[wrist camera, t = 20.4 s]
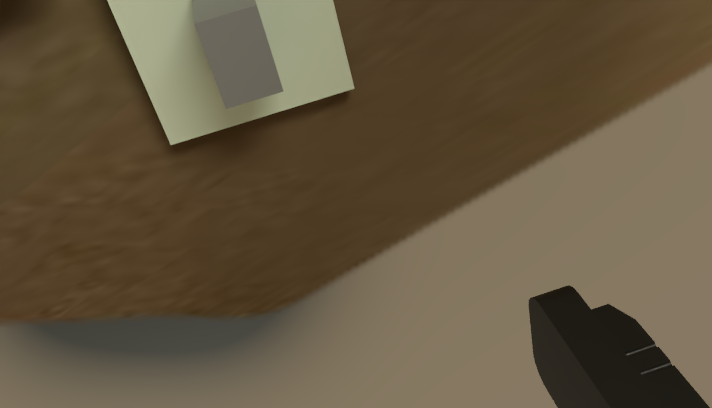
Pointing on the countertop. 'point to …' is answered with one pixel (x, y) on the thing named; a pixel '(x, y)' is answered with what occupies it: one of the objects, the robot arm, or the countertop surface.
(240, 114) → the snap lid
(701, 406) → the robot arm
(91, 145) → the countertop surface
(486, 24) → the countertop surface
